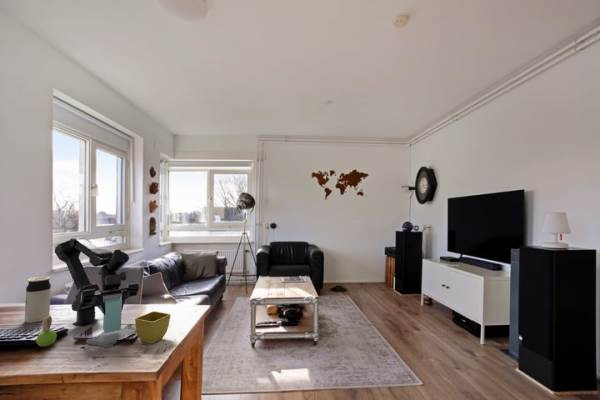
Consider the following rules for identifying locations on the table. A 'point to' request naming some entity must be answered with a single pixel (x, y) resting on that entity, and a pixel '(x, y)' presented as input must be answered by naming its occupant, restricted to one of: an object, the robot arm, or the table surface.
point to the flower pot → (152, 326)
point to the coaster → (108, 338)
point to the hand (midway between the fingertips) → (113, 312)
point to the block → (112, 315)
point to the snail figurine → (46, 333)
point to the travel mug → (37, 299)
